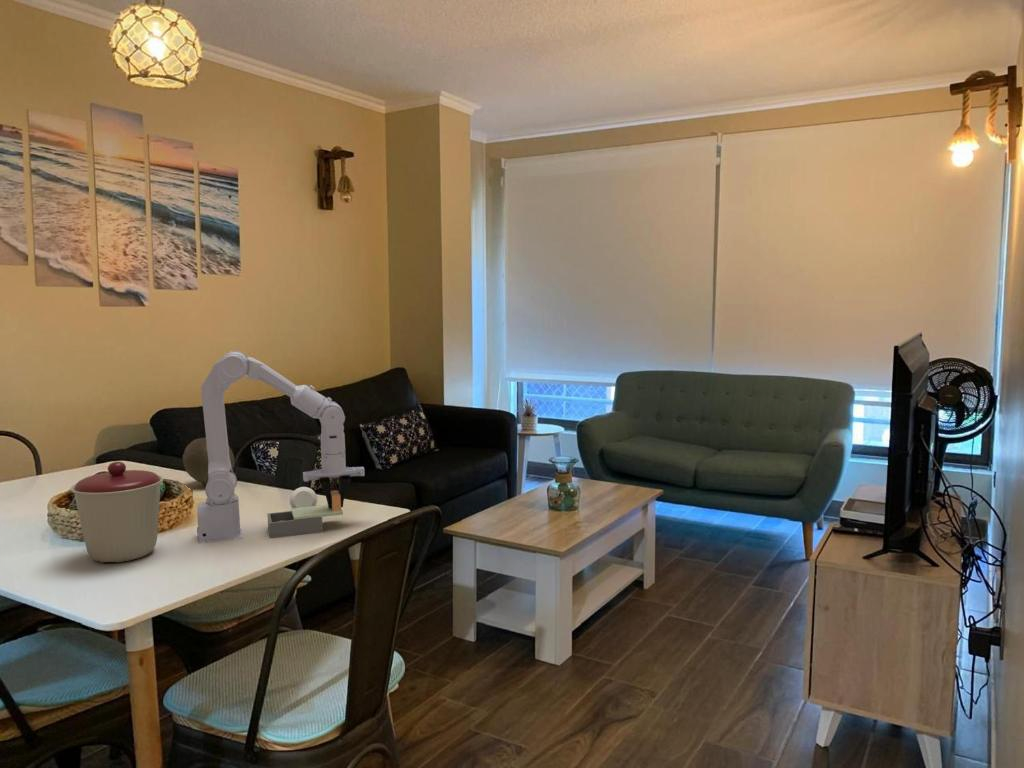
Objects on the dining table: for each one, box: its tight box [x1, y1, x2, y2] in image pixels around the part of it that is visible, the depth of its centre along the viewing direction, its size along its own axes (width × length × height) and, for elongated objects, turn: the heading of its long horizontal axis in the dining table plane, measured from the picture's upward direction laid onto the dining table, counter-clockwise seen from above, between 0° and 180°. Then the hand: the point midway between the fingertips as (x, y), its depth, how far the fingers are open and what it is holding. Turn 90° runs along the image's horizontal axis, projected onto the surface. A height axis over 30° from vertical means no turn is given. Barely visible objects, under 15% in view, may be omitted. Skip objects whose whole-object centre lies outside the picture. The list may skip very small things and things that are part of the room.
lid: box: [290, 489, 344, 520], centre depth 186 cm, size 11×8×4 cm
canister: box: [70, 461, 164, 563], centre depth 168 cm, size 18×18×21 cm
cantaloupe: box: [182, 436, 235, 486], centre depth 232 cm, size 14×14×15 cm
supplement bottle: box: [289, 486, 318, 508], centre depth 196 cm, size 7×7×13 cm
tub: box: [266, 510, 324, 539], centre depth 185 cm, size 12×9×4 cm
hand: (335, 506), depth 188 cm, fingers closed on lid, 2 cm apart
